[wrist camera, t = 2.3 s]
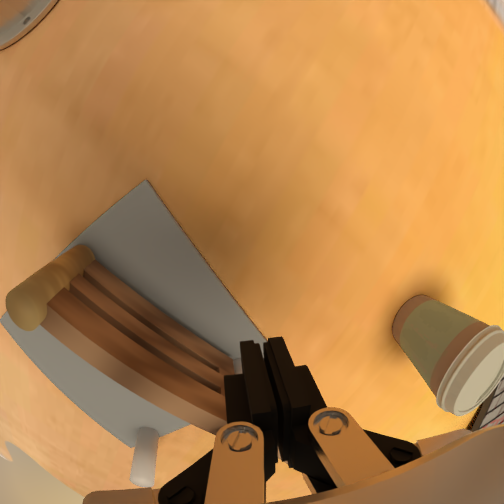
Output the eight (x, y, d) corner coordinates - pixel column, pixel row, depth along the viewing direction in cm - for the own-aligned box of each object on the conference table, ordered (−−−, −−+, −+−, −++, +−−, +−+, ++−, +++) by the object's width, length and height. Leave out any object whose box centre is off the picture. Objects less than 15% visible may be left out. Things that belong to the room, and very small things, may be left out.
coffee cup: (395, 365, 29) (452, 433, 17) (369, 319, 26) (442, 396, 15) (447, 318, 28) (514, 369, 17) (430, 265, 26) (517, 314, 14)
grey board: (1, 318, 21) (-56, 376, 11) (147, 179, 20) (88, 190, 10) (151, 458, 28) (145, 528, 18) (305, 387, 28) (342, 470, 17)
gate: (235, 356, 24) (249, 436, 15) (218, 372, 24) (224, 453, 16) (78, 238, 19) (12, 280, 11) (64, 261, 20) (1, 310, 11)
